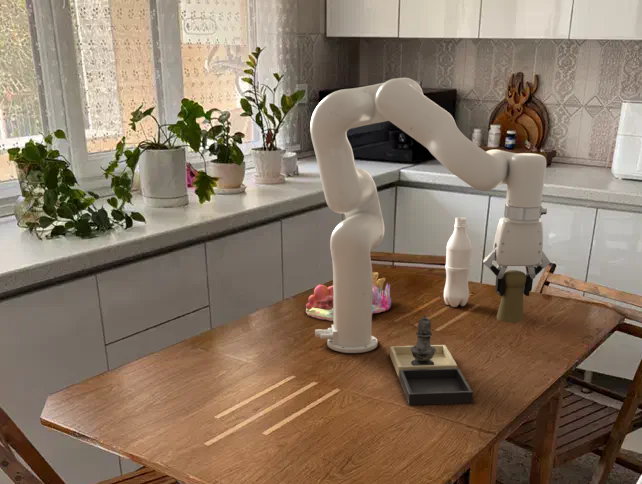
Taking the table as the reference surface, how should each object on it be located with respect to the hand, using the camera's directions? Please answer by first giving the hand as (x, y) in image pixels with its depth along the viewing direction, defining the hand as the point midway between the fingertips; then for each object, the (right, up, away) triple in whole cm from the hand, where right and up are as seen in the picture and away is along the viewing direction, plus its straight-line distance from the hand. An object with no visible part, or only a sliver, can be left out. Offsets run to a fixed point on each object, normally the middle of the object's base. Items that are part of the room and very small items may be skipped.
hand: (512, 293), depth 176 cm
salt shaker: (-19, -16, +7) cm, 26 cm away
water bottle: (-5, +3, +51) cm, 51 cm away
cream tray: (-19, -16, +7) cm, 26 cm away
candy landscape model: (-35, +1, +48) cm, 60 cm away
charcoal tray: (-18, -22, -6) cm, 29 cm away
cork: (0, -6, +2) cm, 6 cm away
